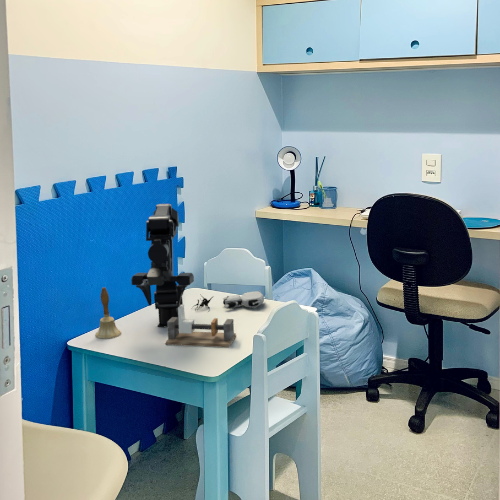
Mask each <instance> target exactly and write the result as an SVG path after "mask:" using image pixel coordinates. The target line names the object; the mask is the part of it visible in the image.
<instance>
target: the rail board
mask: <svg viewBox="0 0 500 500" xmlns="http://www.w3.org/2000/svg"><path fill="white" fill-rule="evenodd" d="M218 320H219V318H218V317H217V318H216V317H215V318H213V319H212V320H211V322H210V324H205V323H203V324H202V323H194V324H192V329H195V330H207V331H193V332H192V333H179V323H178V317H172V318H171V319H170V320H169V321H168V322H167V327H166V328H167V340H166V341H165V345H166V346H188V347H189V346H190V347H193V346H194V347H209V348H210V347H215V348H217V347H218V348H230V346H231V344H233V341H234V340H235V338H236V336H237V333H236V332H235V330H234V325H235V324H234V319H233V318H226V320H225V321H224V323H223V324H219V322H218ZM208 330H210V331H208ZM219 331H223V332H219Z"/></svg>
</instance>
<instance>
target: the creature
mask: <svg viewBox="0 0 500 500" xmlns="http://www.w3.org/2000/svg"><path fill="white" fill-rule="evenodd" d="M200 297H202V299H201V298H199V299H197V303H196V304H194V305H193V306H192V308H191V309H193V308H194V307H196V308H195V309H194V311H195V312H197V311H198V310H200V309H202V308H203V307H204V306H205V308H207V310H208V311H207V313H208V312H210V311H211V309H210V307H209V303H210V302H211V300H212V299H213V298H214V297H215V296H211V297H210V298H209V299H207V298H206V297H204V296H203V295H202V294H200ZM200 301H201V302H200Z"/></svg>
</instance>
